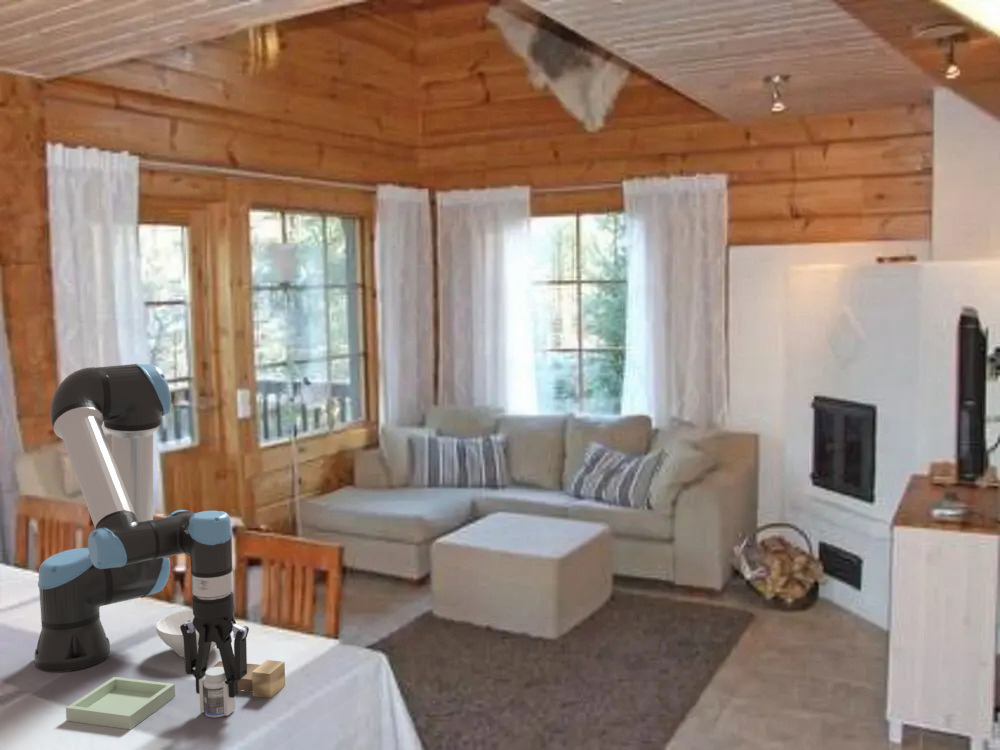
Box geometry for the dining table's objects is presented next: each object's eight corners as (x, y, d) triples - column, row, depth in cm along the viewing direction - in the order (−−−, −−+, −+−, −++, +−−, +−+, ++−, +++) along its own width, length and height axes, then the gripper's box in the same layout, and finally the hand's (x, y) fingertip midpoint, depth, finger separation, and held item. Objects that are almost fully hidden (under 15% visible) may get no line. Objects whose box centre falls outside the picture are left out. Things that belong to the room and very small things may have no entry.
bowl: (162, 671, 198) (161, 640, 197) (152, 645, 212) (151, 615, 211) (239, 657, 205) (237, 626, 205) (224, 632, 219) (223, 603, 219)
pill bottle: (208, 707, 182) (206, 665, 181) (232, 706, 182) (231, 665, 181) (202, 718, 177) (200, 676, 176) (227, 717, 177) (226, 675, 176)
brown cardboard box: (202, 689, 190) (202, 675, 190) (219, 674, 197) (219, 661, 197) (257, 694, 188) (256, 680, 188) (272, 679, 195) (272, 665, 195)
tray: (66, 720, 176) (65, 707, 176) (114, 688, 190) (114, 676, 190) (130, 729, 173) (129, 716, 173) (175, 696, 186) (174, 684, 186)
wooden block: (252, 695, 186) (251, 671, 186) (267, 683, 192) (266, 659, 191) (270, 698, 185) (270, 673, 185) (285, 685, 191) (284, 661, 190)
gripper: (160, 596, 175) (166, 714, 178) (244, 604, 171) (248, 725, 174) (183, 583, 183) (189, 696, 185) (264, 590, 178) (268, 707, 181)
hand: (217, 710), depth 179 cm, fingers closed on pill bottle, 4 cm apart
